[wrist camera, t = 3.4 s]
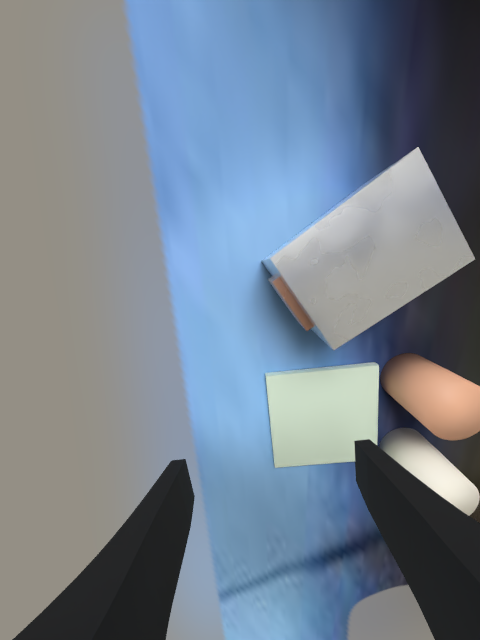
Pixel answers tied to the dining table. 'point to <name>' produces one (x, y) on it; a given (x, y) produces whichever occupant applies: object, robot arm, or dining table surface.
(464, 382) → the terracotta peg
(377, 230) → the block
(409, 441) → the ivory peg
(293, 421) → the pad
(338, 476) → the dining table surface
